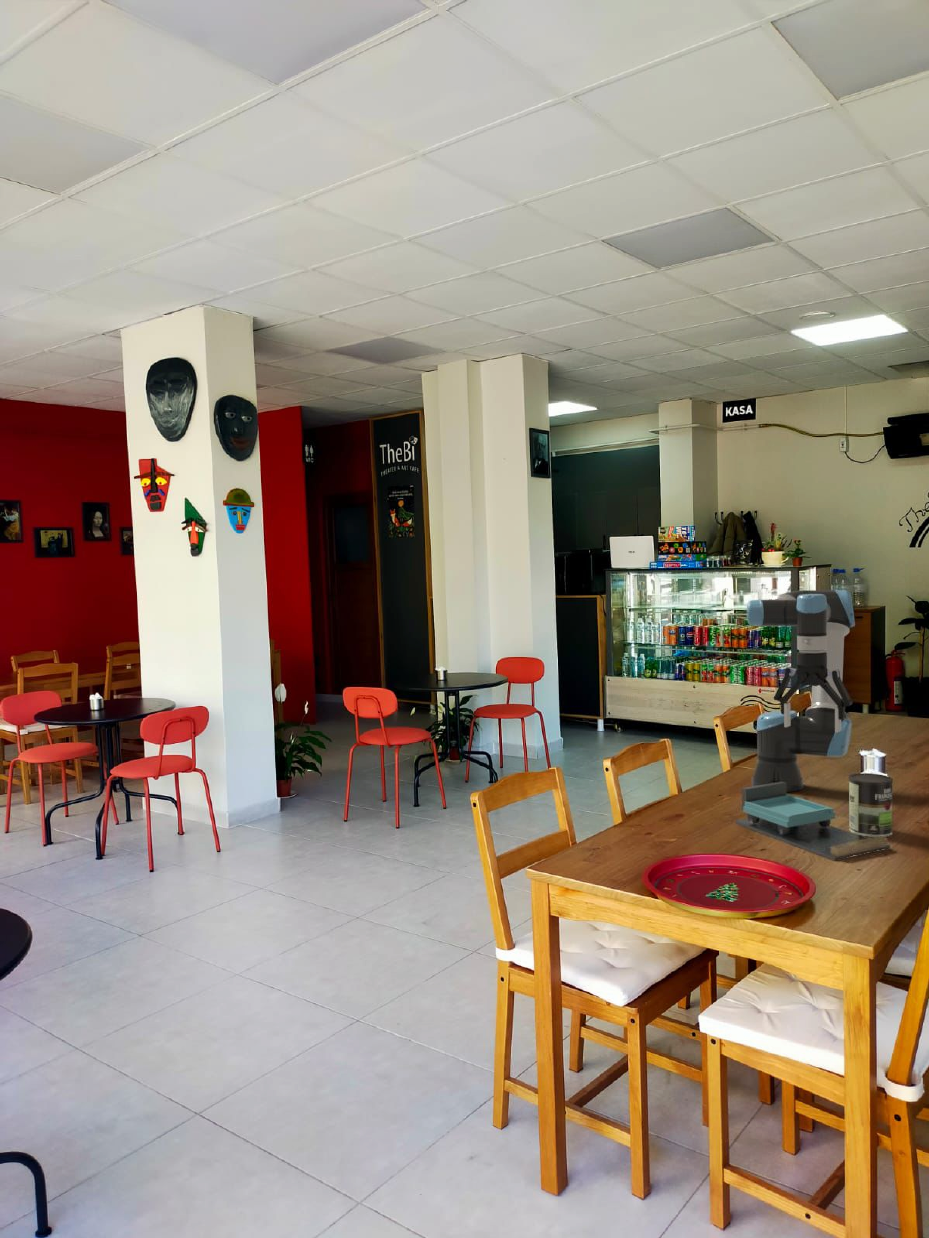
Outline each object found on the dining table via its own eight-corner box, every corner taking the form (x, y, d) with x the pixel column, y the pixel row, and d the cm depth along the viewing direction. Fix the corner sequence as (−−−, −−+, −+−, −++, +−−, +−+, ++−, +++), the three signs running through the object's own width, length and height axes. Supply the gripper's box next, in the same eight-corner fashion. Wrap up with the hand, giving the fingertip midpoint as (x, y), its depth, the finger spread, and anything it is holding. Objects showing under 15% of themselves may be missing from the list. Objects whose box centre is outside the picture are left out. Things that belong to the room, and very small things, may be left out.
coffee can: (901, 833, 226) (901, 778, 225) (874, 840, 221) (874, 784, 221) (866, 823, 235) (866, 770, 234) (839, 829, 231) (839, 776, 230)
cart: (739, 819, 239) (738, 788, 238) (785, 811, 245) (784, 780, 244) (787, 837, 222) (787, 803, 222) (835, 828, 229) (835, 795, 228)
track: (735, 823, 239) (735, 813, 238) (786, 814, 246) (786, 804, 246) (834, 860, 207) (834, 849, 207) (890, 848, 215) (890, 837, 214)
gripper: (761, 650, 245) (762, 726, 247) (855, 654, 229) (855, 736, 231) (771, 647, 251) (772, 722, 253) (864, 651, 235) (864, 731, 236)
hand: (812, 728), depth 242 cm, fingers open, 13 cm apart
